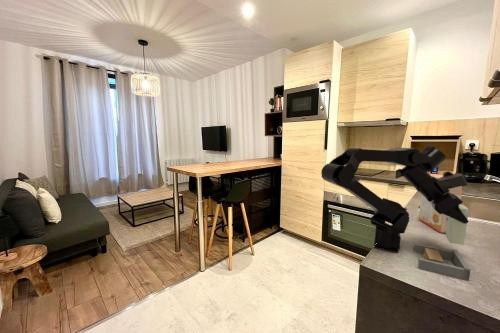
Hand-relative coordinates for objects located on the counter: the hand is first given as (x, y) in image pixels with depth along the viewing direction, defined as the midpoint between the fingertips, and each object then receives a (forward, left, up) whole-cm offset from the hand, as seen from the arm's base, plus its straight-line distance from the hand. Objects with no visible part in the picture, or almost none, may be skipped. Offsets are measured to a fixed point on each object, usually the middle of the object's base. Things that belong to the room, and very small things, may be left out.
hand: (463, 219), depth 64 cm
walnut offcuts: (-8, -10, -11) cm, 17 cm away
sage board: (-2, 0, -7) cm, 7 cm away
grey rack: (-6, -10, -11) cm, 16 cm away
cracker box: (-1, +24, -11) cm, 27 cm away
